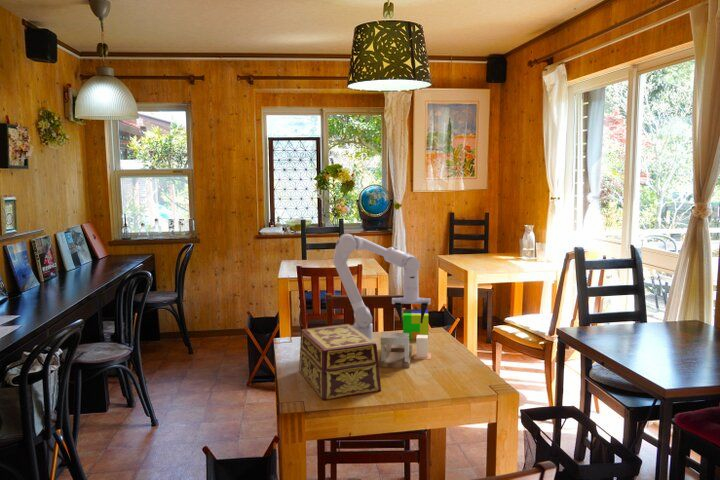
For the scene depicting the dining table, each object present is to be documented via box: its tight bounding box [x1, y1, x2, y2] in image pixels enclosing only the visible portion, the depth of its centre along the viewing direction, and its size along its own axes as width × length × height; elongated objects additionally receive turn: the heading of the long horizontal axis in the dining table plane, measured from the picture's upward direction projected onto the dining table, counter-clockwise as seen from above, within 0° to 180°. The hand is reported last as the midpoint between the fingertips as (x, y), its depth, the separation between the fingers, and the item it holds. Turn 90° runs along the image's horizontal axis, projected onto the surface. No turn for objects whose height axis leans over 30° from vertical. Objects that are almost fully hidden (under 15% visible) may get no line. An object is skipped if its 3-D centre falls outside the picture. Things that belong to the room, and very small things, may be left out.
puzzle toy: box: [402, 308, 430, 340], centre depth 225 cm, size 10×10×10 cm
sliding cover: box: [380, 332, 410, 362], centre depth 191 cm, size 9×6×8 cm, turn 82°
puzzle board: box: [379, 344, 413, 369], centre depth 197 cm, size 10×20×2 cm, turn 172°
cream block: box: [415, 335, 429, 357], centre depth 199 cm, size 4×4×7 cm
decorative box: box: [298, 323, 382, 402], centre depth 177 cm, size 28×19×15 cm
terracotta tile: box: [413, 351, 432, 360], centre depth 199 cm, size 6×7×1 cm
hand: (411, 322), depth 211 cm, fingers open, 7 cm apart
